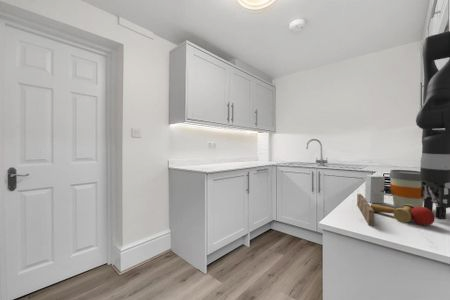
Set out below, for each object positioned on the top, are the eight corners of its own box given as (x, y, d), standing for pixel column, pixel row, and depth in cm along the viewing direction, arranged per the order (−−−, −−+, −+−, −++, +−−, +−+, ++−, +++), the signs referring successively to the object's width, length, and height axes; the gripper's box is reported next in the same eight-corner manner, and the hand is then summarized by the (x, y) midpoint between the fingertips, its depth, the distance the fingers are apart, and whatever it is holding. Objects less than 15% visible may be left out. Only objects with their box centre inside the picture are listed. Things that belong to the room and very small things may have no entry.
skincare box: (370, 203, 92) (371, 176, 92) (364, 200, 97) (364, 174, 96) (384, 203, 92) (385, 176, 91) (377, 200, 96) (378, 174, 96)
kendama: (366, 217, 79) (430, 227, 64) (366, 200, 80) (428, 206, 65) (377, 217, 83) (439, 226, 67) (376, 201, 84) (437, 207, 68)
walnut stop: (357, 205, 89) (357, 193, 89) (360, 205, 89) (361, 194, 89) (368, 225, 68) (369, 210, 68) (373, 226, 67) (374, 210, 67)
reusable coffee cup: (386, 206, 87) (387, 171, 86) (390, 200, 96) (391, 168, 95) (427, 214, 78) (429, 175, 77) (428, 207, 87) (429, 171, 86)
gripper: (464, 170, 61) (462, 224, 62) (439, 165, 74) (437, 210, 75) (431, 169, 64) (429, 220, 65) (412, 164, 77) (411, 207, 78)
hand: (433, 214), depth 70 cm, fingers open, 8 cm apart
